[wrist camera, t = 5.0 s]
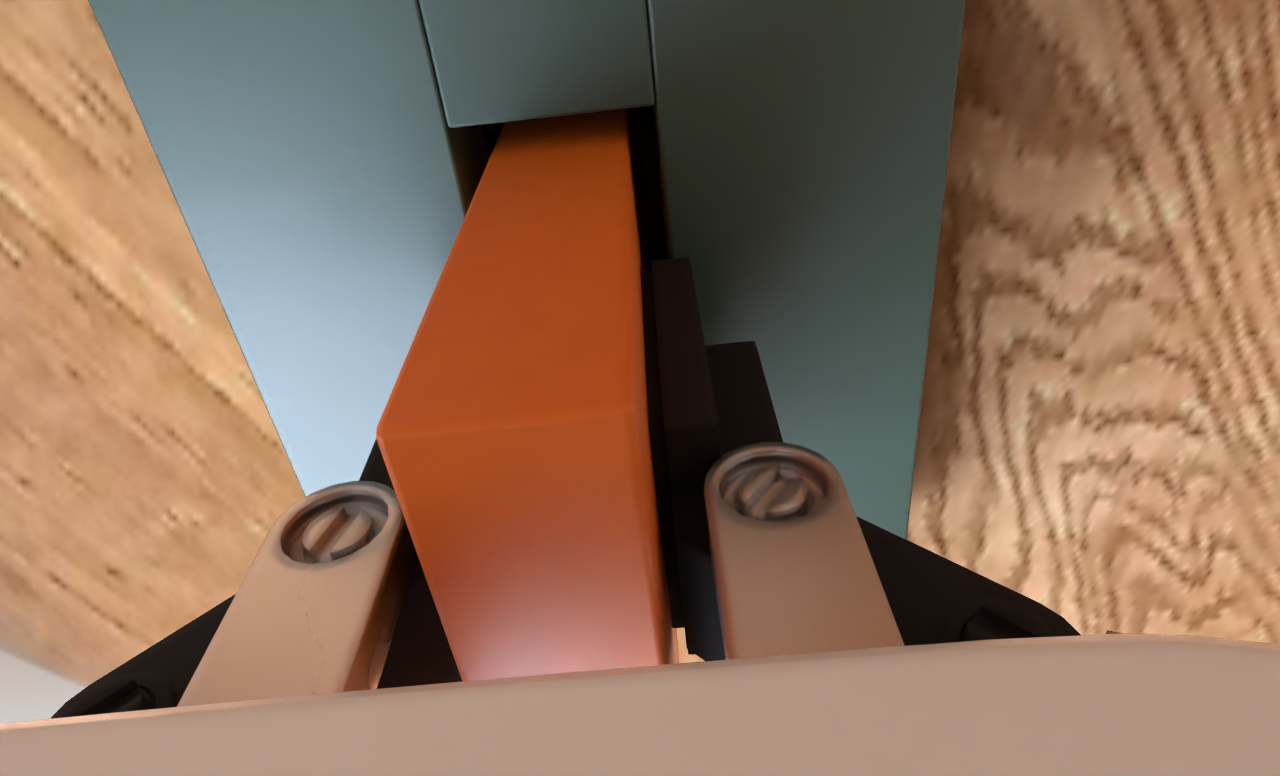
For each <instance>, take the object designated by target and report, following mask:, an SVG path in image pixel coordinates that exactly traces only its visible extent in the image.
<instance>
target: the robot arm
mask: <svg viewBox="0 0 1280 776" xmlns="http://www.w3.org/2000/svg"><path fill="white" fill-rule="evenodd" d="M651 265H652V271H648V272H641V289H642V308H643V327H644V347H645V366H646V386H647V405H648V423H649V435H650V445H651V455H652V463H653V471H654V480H655V488H656V496H657V505H658V513H659V521H660V529H661V538H662V546H663V554H664V563H665V571H666V579H667V587H668V596H669V604H670V612H671V621H672V628H682V627H685V634H686V644H687V649H688V654H696V655H697V656H699V657H700V658H702V659H703V660H705V661H704V662H692V663H679V664H667V665H654V666H642V667H629V668H617V669H606V670H594V671H582V672H570V673H558V674H546V675H534V676H523V677H511V678H499V679H487V680H475V681H464V682H462V679H461V676H460V673H459V670H458V668H457V665H456V662H455V659H454V656H453V653H452V651H451V648H450V645H449V642H448V639H447V637H446V634H445V631H444V628H443V625H442V622H441V620H440V617H439V614H438V611H437V608H436V606H435V603H434V600H433V597H432V594H431V591H430V589H429V586H428V583H427V580H426V577H425V575H424V572H423V569H422V566H421V563H420V560H419V558H418V555H417V552H416V549H415V546H414V544H413V541H412V538H411V535H410V532H409V529H408V527H407V524H406V521H405V518H404V515H403V513H402V510H401V507H400V504H399V501H398V498H397V496H396V493H395V490H394V487H393V484H392V482H391V479H390V476H389V473H388V470H387V468H386V465H385V462H384V459H383V456H382V453H381V451H380V448H379V445H378V442H377V439H376V440H375V443H374V445H373V447H372V450H371V452H370V455H369V457H368V460H367V462H366V465H365V467H364V469H363V472H362V474H361V477H360V479H359V481H351V482H346V483H340V484H335V485H332V486H329V487H326V488H324V489H321V490H318V491H316V492H313V493H312V494H310V495H308V496H306V497H305V498H303V499H301V500H299V501H298V502H296V503H295V504H293V505H292V506H291V507H290V508H289V509H288V510H286V511H285V512H284V513H283V514H282V515H281V516H280V517H279V518H278V519H277V521H276V522H275V523H274V525H273V526H272V528H271V529H270V530H269V532H268V534H267V536H266V538H265V540H264V542H263V544H262V546H261V547H260V549H259V551H258V553H257V555H256V557H255V559H254V561H253V563H252V565H251V566H250V568H249V570H248V572H247V574H246V576H245V578H244V580H243V582H242V584H241V585H240V587H239V589H238V591H237V593H236V594H235V595H233V596H232V597H230V598H229V599H227V600H225V601H224V602H222V603H221V604H219V605H217V606H216V607H214V608H213V609H211V610H209V611H208V612H206V613H205V614H203V615H201V616H200V617H198V618H197V619H195V620H193V621H192V622H190V623H189V624H187V625H185V626H184V627H182V628H180V629H179V630H177V631H176V632H174V633H172V634H171V635H169V636H168V637H166V638H164V639H163V640H161V641H160V642H158V643H156V644H155V645H153V646H152V647H150V648H148V649H147V650H145V651H144V652H142V653H140V654H139V655H137V656H136V657H134V658H132V659H131V660H129V661H128V662H126V663H124V664H123V665H121V666H120V667H118V668H116V669H115V670H113V671H111V672H110V673H108V674H107V675H105V676H103V677H102V678H100V679H99V680H97V681H95V682H94V683H92V684H91V685H89V686H88V687H86V688H85V689H84V690H82V691H81V692H80V693H78V694H77V695H75V696H74V697H73V698H71V699H70V700H69V701H67V702H66V703H65V704H64V705H63V706H62V707H61V708H60V709H59V710H58V711H57V712H56V713H55V714H54V715H53V716H52V717H51V719H44V720H34V721H24V722H13V723H3V724H0V776H1280V645H1277V644H1270V643H1260V642H1251V641H1242V640H1233V639H1224V638H1214V637H1205V636H1187V635H1154V634H1123V633H1118V632H1113V631H1108V630H1107V632H1106V634H1104V635H1082V636H1081V635H1080V634H1079V633H1078V632H1077V631H1076V630H1075V629H1074V628H1073V627H1072V626H1071V625H1070V624H1069V623H1068V622H1067V621H1066V620H1065V619H1064V618H1063V617H1061V616H1060V615H1058V614H1057V613H1055V612H1053V611H1052V610H1050V609H1048V608H1047V607H1045V606H1043V605H1042V604H1040V603H1038V602H1036V601H1034V600H1032V599H1030V598H1028V597H1026V596H1023V595H1021V594H1019V593H1017V592H1015V591H1013V590H1011V589H1009V588H1007V587H1004V586H1002V585H1000V584H998V583H996V582H994V581H992V580H990V579H988V578H986V577H983V576H981V575H979V574H977V573H975V572H973V571H971V570H969V569H967V568H964V567H962V566H960V565H958V564H956V563H954V562H952V561H950V560H948V559H946V558H943V557H941V556H939V555H937V554H935V553H933V552H931V551H929V550H927V549H924V548H922V547H920V546H918V545H916V544H914V543H912V542H910V541H908V540H906V539H903V538H901V537H899V536H897V535H895V534H893V533H891V532H889V531H887V530H884V529H882V528H880V527H878V526H876V525H874V524H872V523H870V522H868V521H866V520H863V519H861V518H859V517H857V516H856V514H855V512H854V509H853V506H852V504H851V501H850V498H849V496H848V493H847V490H846V488H845V485H844V482H843V480H842V477H841V475H840V474H839V472H838V471H837V469H836V468H835V466H834V464H833V463H831V462H830V461H829V460H827V459H826V458H825V457H824V456H822V455H821V454H820V453H818V452H815V451H813V450H811V449H808V448H806V447H803V446H800V445H795V444H790V443H784V442H783V439H782V436H781V432H780V429H779V425H778V421H777V418H776V414H775V411H774V407H773V403H772V400H771V396H770V393H769V389H768V385H767V382H766V378H765V375H764V371H763V368H762V364H761V360H760V357H759V353H758V350H757V346H756V343H755V341H744V342H734V343H724V344H713V345H705V343H704V337H703V331H702V325H701V320H700V314H699V308H698V303H697V297H696V291H695V285H694V280H693V274H692V268H691V262H690V257H684V258H674V259H665V260H655V261H651Z"/></svg>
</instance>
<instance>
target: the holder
mask: <svg viewBox="0 0 1280 776" xmlns="http://www.w3.org/2000/svg"><path fill="white" fill-rule="evenodd" d="M88 1H89V3H90V5H91V8H92V10H93V12H94V14H95V17H96V19H97V21H98V24H99V26H100V28H101V30H102V33H103V35H104V37H105V40H106V42H107V44H108V46H109V49H110V51H111V53H112V56H113V58H114V60H115V62H116V65H117V67H118V69H119V72H120V74H121V76H122V78H123V81H124V83H125V85H126V88H127V90H128V92H129V94H130V97H131V99H132V101H133V104H134V106H135V108H136V110H137V113H138V115H139V117H140V120H141V122H142V124H143V126H144V129H145V131H146V133H147V136H148V138H149V140H150V142H151V145H152V147H153V149H154V152H155V154H156V156H157V158H158V161H159V163H160V165H161V168H162V170H163V172H164V174H165V177H166V179H167V181H168V184H169V186H170V188H171V190H172V193H173V195H174V197H175V200H176V202H177V204H178V206H179V209H180V211H181V213H182V216H183V218H184V220H185V222H186V225H187V227H188V229H189V232H190V234H191V236H192V238H193V241H194V243H195V245H196V248H197V250H198V252H199V254H200V257H201V259H202V261H203V264H204V266H205V268H206V270H207V273H208V275H209V277H210V280H211V282H212V284H213V286H214V289H215V291H216V293H217V296H218V298H219V300H220V302H221V305H222V307H223V309H224V312H225V314H226V316H227V319H228V321H229V323H230V325H231V328H232V330H233V332H234V335H235V337H236V339H237V341H238V344H239V346H240V348H241V351H242V353H243V355H244V357H245V360H246V362H247V364H248V367H249V369H250V371H251V373H252V376H253V378H254V380H255V383H256V385H257V387H258V389H259V392H260V394H261V396H262V399H263V401H264V403H265V405H266V408H267V410H268V412H269V415H270V417H271V419H272V421H273V424H274V426H275V428H276V431H277V433H278V435H279V437H280V440H281V442H282V444H283V447H284V449H285V451H286V453H287V456H288V458H289V460H290V463H291V465H292V467H293V469H294V472H295V474H296V476H297V479H298V481H299V483H300V485H301V488H302V490H303V492H304V495H305V497H306V496H308V495H310V494H312V493H313V492H316V491H318V490H321V489H324V488H326V487H329V486H332V485H335V484H340V483H346V482H351V481H359V479H360V477H361V474H362V472H363V469H364V467H365V465H366V462H367V460H368V457H369V455H370V452H371V450H372V447H373V445H374V443H375V440H376V430H377V426H378V423H379V421H380V418H381V416H382V414H383V411H384V409H385V406H386V404H387V402H388V399H389V397H390V395H391V392H392V390H393V387H394V385H395V383H396V380H397V378H398V375H399V373H400V371H401V368H402V366H403V364H404V361H405V359H406V356H407V354H408V352H409V349H410V347H411V344H412V342H413V340H414V337H415V335H416V333H417V330H418V328H419V325H420V323H421V321H422V318H423V316H424V313H425V311H426V309H427V306H428V304H429V302H430V299H431V297H432V294H433V292H434V290H435V287H436V285H437V282H438V280H439V278H440V275H441V273H442V271H443V268H444V266H445V263H446V261H447V259H448V256H449V254H450V251H451V249H452V247H453V244H454V242H455V240H456V237H457V235H458V232H459V230H460V228H461V225H462V223H463V220H464V218H465V216H466V213H467V211H468V209H469V206H470V204H471V201H472V199H473V197H474V194H475V192H476V189H477V187H478V185H479V182H480V180H481V178H482V175H483V173H484V170H485V168H486V166H487V163H488V157H487V152H486V147H485V143H484V138H483V133H482V128H481V125H483V124H492V123H501V122H510V121H519V120H528V119H537V118H546V117H555V116H564V115H573V114H582V113H591V112H600V111H609V110H618V109H627V108H636V107H645V106H652V105H654V116H655V127H656V138H657V149H658V160H659V171H660V182H661V193H662V204H663V215H664V226H665V237H666V248H667V259H674V258H684V257H690V262H691V268H692V274H693V280H694V285H695V291H696V297H697V303H698V308H699V314H700V320H701V325H702V331H703V337H704V343H705V345H713V344H724V343H734V342H744V341H755V343H756V346H757V350H758V353H759V357H760V360H761V364H762V368H763V371H764V375H765V378H766V382H767V385H768V389H769V393H770V396H771V400H772V403H773V407H774V411H775V414H776V418H777V421H778V425H779V429H780V432H781V436H782V439H783V442H784V443H790V444H795V445H800V446H803V447H806V448H808V449H811V450H813V451H815V452H818V453H820V454H821V455H822V456H824V457H825V458H826V459H827V460H829V461H830V462H831V463H833V464H834V466H835V468H836V469H837V471H838V472H839V474H840V475H841V477H842V480H843V482H844V485H845V488H846V490H847V493H848V496H849V498H850V501H851V504H852V506H853V509H854V512H855V514H856V516H857V517H859V518H861V519H863V520H866V521H868V522H870V523H872V524H874V525H876V526H878V527H880V528H882V529H884V530H887V531H889V532H891V533H893V534H895V535H897V536H899V537H901V538H903V539H906V540H907V531H908V522H909V513H910V504H911V495H912V486H913V477H914V468H915V458H916V449H917V440H918V431H919V422H920V413H921V404H922V395H923V385H924V376H925V367H926V358H927V349H928V340H929V331H930V322H931V312H932V303H933V294H934V285H935V276H936V267H937V258H938V249H939V240H940V230H941V221H942V212H943V203H944V194H945V185H946V176H947V167H948V157H949V148H950V139H951V130H952V121H953V112H954V103H955V94H956V84H957V75H958V66H959V57H960V48H961V39H962V30H963V21H964V11H965V2H966V0H88Z"/></svg>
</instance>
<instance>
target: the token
mask: <svg viewBox="0 0 1280 776" xmlns="http://www.w3.org/2000/svg"><path fill="white" fill-rule="evenodd" d="M641 272H645V269H644V260H643V251H642V241H641V232H640V223H639V214H638V205H637V196H636V186H635V177H634V168H633V159H632V150H631V141H630V131H629V122H628V113H627V109H618V110H609V111H600V112H591V113H582V114H573V115H564V116H555V117H546V118H537V119H528V120H519V121H510V122H505V123H504V125H503V127H502V130H501V132H500V135H499V137H498V139H497V142H496V144H495V147H494V149H493V151H492V154H491V156H490V158H489V161H488V163H487V166H486V168H485V170H484V173H483V175H482V178H481V180H480V182H479V185H478V187H477V189H476V192H475V194H474V197H473V199H472V201H471V204H470V206H469V209H468V211H467V213H466V216H465V218H464V220H463V223H462V225H461V228H460V230H459V232H458V235H457V237H456V240H455V242H454V244H453V247H452V249H451V251H450V254H449V256H448V259H447V261H446V263H445V266H444V268H443V271H442V273H441V275H440V278H439V280H438V282H437V285H436V287H435V290H434V292H433V294H432V297H431V299H430V302H429V304H428V306H427V309H426V311H425V313H424V316H423V318H422V321H421V323H420V325H419V328H418V330H417V333H416V335H415V337H414V340H413V342H412V344H411V347H410V349H409V352H408V354H407V356H406V359H405V361H404V364H403V366H402V368H401V371H400V373H399V375H398V378H397V380H396V383H395V385H394V387H393V390H392V392H391V395H390V397H389V399H388V402H387V404H386V406H385V409H384V411H383V414H382V416H381V418H380V421H379V423H378V426H377V430H376V439H377V442H378V445H379V448H380V451H381V453H382V456H383V459H384V462H385V465H386V468H387V470H388V473H389V476H390V479H391V482H392V484H393V487H394V490H395V493H396V496H397V498H398V501H399V504H400V507H401V510H402V513H403V515H404V518H405V521H406V524H407V527H408V529H409V532H410V535H411V538H412V541H413V544H414V546H415V549H416V552H417V555H418V558H419V560H420V563H421V566H422V569H423V572H424V575H425V577H426V580H427V583H428V586H429V589H430V591H431V594H432V597H433V600H434V603H435V606H436V608H437V611H438V614H439V617H440V620H441V622H442V625H443V628H444V631H445V634H446V637H447V639H448V642H449V645H450V648H451V651H452V653H453V656H454V659H455V662H456V665H457V668H458V670H459V673H460V676H461V679H462V682H464V681H475V680H487V679H499V678H511V677H523V676H534V675H546V674H558V673H570V672H582V671H594V670H606V669H617V668H629V667H642V666H654V665H667V664H679V656H678V642H677V629H676V628H672V621H671V612H670V604H669V596H668V587H667V579H666V571H665V563H664V554H663V546H662V538H661V529H660V521H659V513H658V505H657V496H656V488H655V480H654V471H653V463H652V455H651V445H650V435H649V423H648V405H647V386H646V366H645V347H644V327H643V308H642V289H641Z"/></svg>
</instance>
